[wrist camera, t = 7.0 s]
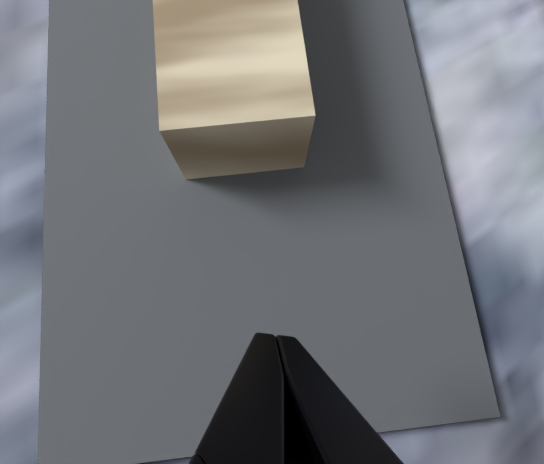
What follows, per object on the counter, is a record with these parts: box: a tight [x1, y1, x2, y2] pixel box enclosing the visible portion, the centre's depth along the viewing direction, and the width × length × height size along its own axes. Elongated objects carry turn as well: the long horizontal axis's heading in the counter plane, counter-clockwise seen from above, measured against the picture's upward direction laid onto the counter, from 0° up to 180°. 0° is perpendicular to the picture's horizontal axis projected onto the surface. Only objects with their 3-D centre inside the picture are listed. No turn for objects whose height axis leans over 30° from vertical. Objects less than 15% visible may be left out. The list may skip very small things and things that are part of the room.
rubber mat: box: [38, 0, 500, 464], centre depth 20 cm, size 26×20×1 cm
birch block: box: [153, 0, 316, 179], centre depth 19 cm, size 5×6×14 cm
